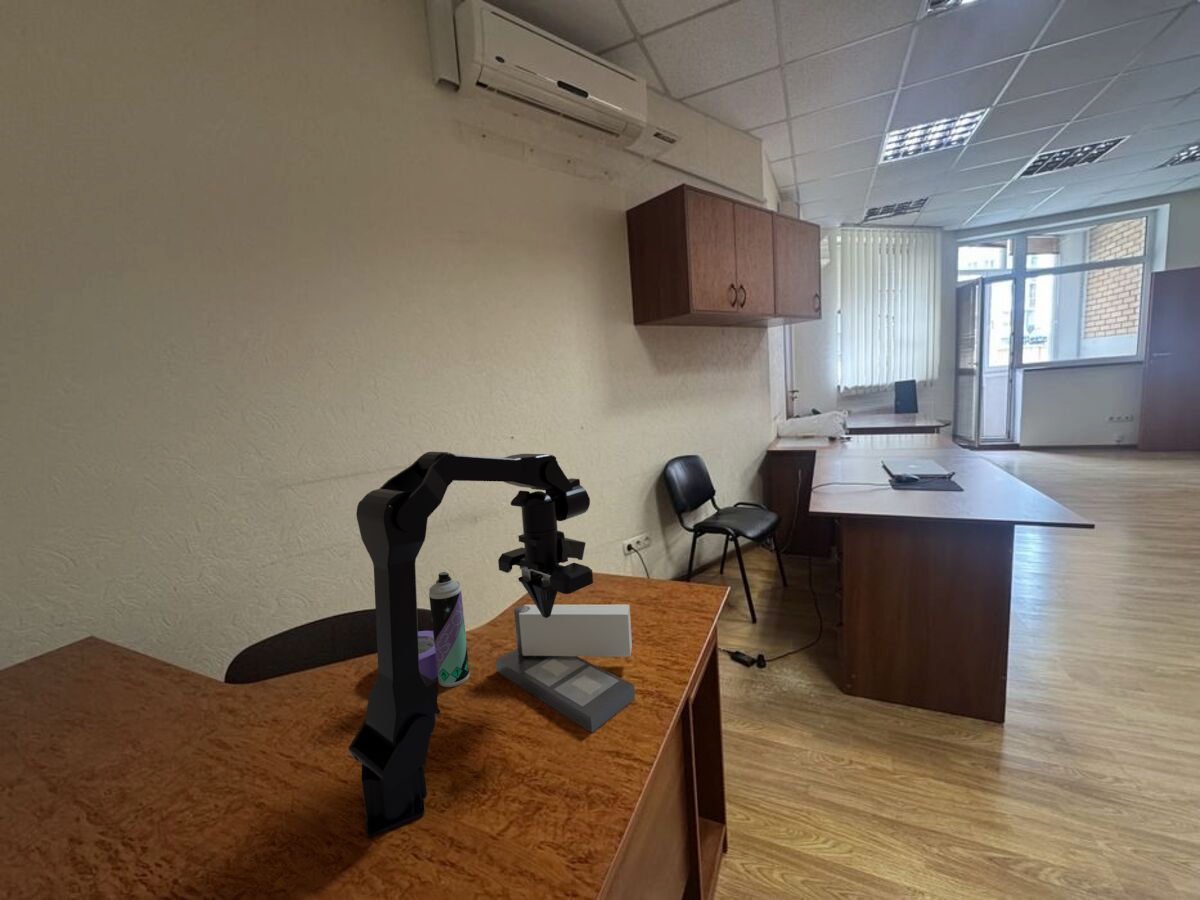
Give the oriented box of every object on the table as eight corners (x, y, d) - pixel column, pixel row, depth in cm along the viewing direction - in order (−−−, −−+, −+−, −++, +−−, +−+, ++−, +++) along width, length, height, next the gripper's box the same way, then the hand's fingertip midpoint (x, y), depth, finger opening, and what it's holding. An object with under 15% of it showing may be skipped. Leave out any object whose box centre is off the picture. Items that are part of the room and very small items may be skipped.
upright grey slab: (514, 655, 87) (511, 614, 86) (521, 643, 91) (517, 604, 90) (630, 657, 84) (627, 614, 83) (631, 645, 88) (629, 604, 87)
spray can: (432, 682, 85) (420, 577, 82) (454, 666, 90) (443, 566, 87) (454, 690, 82) (442, 581, 80) (476, 673, 87) (465, 569, 85)
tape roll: (458, 653, 95) (455, 629, 94) (431, 689, 83) (428, 662, 83) (403, 653, 96) (400, 630, 95) (369, 689, 84) (366, 662, 84)
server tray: (592, 732, 70) (590, 716, 69) (497, 671, 87) (495, 658, 87) (634, 699, 77) (634, 683, 76) (539, 648, 94) (538, 636, 94)
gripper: (613, 524, 78) (618, 614, 79) (542, 511, 91) (548, 588, 92) (563, 541, 70) (570, 641, 71) (493, 524, 83) (500, 608, 84)
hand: (546, 616), depth 80 cm, fingers closed
